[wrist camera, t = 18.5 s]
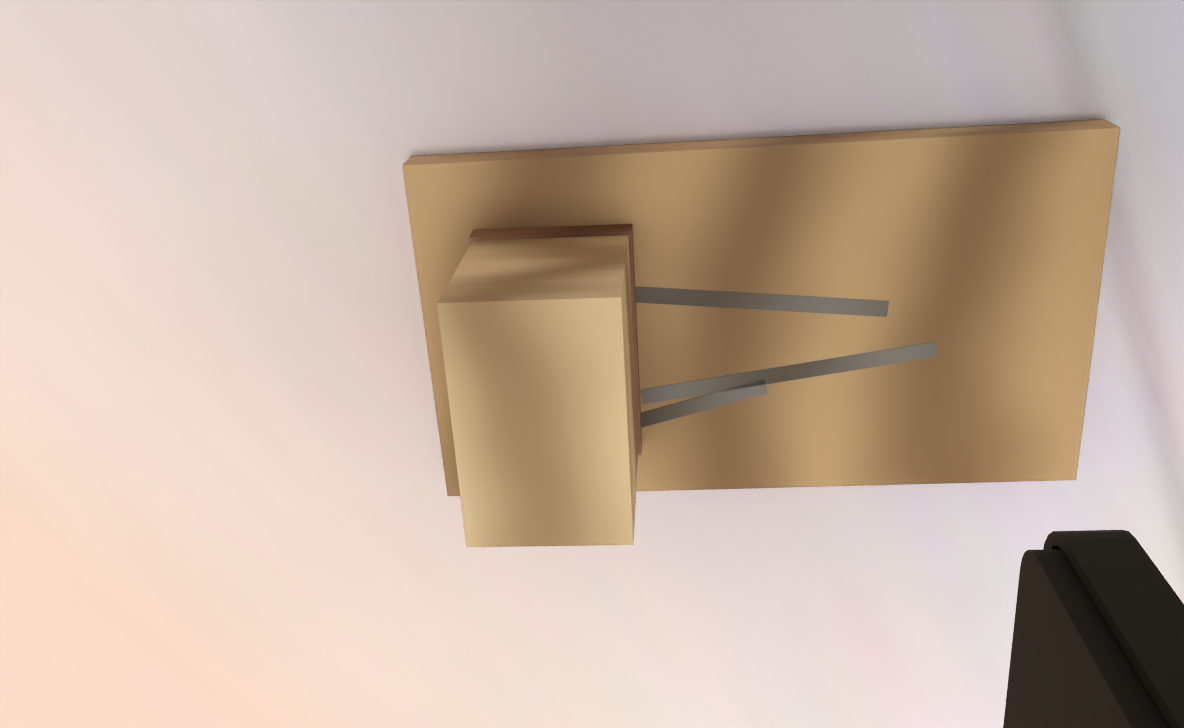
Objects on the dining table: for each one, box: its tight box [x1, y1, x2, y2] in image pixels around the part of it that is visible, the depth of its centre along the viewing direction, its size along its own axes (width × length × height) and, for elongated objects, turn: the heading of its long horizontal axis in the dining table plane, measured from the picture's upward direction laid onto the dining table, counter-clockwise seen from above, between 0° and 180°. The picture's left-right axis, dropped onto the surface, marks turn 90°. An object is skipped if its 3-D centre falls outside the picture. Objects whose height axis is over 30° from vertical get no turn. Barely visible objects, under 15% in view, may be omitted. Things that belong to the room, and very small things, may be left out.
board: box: [402, 120, 1120, 496], centre depth 33 cm, size 20×11×1 cm, turn 94°
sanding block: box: [437, 224, 642, 547], centre depth 30 cm, size 5×7×6 cm, turn 3°
